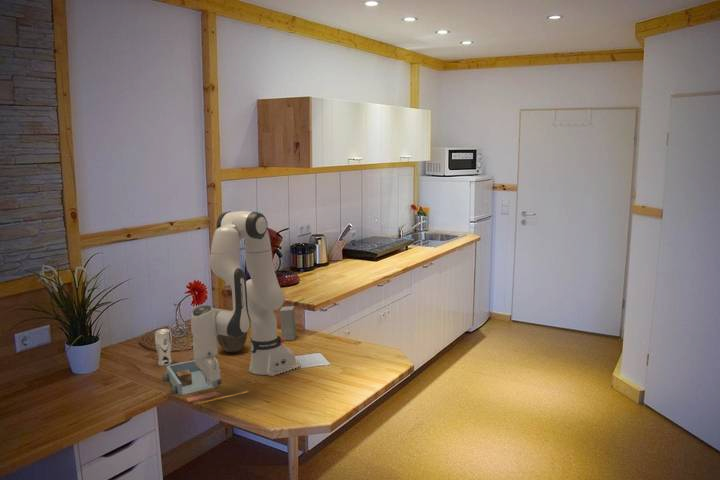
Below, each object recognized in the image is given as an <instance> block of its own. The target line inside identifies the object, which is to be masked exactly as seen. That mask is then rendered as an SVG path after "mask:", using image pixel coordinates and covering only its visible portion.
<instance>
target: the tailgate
mask: <svg viewBox="0 0 720 480" xmlns="http://www.w3.org/2000/svg"><path fill="white" fill-rule="evenodd" d="M217 396H218V397H219V396H221V393H220V392H218V391H212V392H208V393H204V394H199V395H195V396H190V397H186V398H185V399H186V401H187V402H188V403H191V402H195V401H201V400H205V399H208V398H209V399H210V398H213V397H217Z"/></svg>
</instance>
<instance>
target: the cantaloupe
mask: <svg viewBox="0 0 720 480" xmlns="http://www.w3.org/2000/svg"><path fill="white" fill-rule="evenodd" d="M216 338H217V344H218V345H219V347H221V348H222V350H223V351H225V352H228V353H237V352H239V351H240V350H242V349H243V347H244V346H245V343H246V341H247V338H248V332H247V333H246V334H245V335H244V336H243V337H241V338H233V337H230V336H226V335H220V334H218V335H216Z"/></svg>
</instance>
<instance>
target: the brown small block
mask: <svg viewBox="0 0 720 480" xmlns="http://www.w3.org/2000/svg"><path fill="white" fill-rule="evenodd" d="M176 376H177V378H178V379H179V380H180V382H181V383H182V386H185V385H190V384H192V375H191V372H190V371H189V370H183V371H178V372H176Z"/></svg>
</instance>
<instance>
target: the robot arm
mask: <svg viewBox="0 0 720 480" xmlns="http://www.w3.org/2000/svg"><path fill="white" fill-rule="evenodd" d="M268 226H269V225H268V220H267V218H266V216H265V215H264V214H263V213H261V212H258V211H249V210H237V211H230V210H229V211H225V212H222V213H221V214H219V216H218V218H217V221H216V230H215V231H214V233H213V237H212V239H211V240H212V241H211V246H210V255H209V266H210V269H211V271H212V273H214V275H215V276H217V278H220V279H221V280H223V281H224V282H226V284H228V285H229V286H230V289H231V296H232V298H231V299H232V310H228V309H224V308H223V309H222V308H214V307H212V306H211V305H202V306H198V307H196V308H194V309H193V310H192V312H191V315H190V316H191V317H190V327H191V335H192V336H193V340H192V343H191V344H190V348H191V350H192V354H193V358H194V360H195V364H196V365H197V367H198V368H199V369H200V370H201V371H202V372H203V374H204V377H205V382H206V383H207V385H211V384H212V381H216V380H219V379H221V369H220V364H219V360H218V359H217V357H216V355H217V354H218V352H219V348H218V339H217V335H218V334H220V335H226V336H230V337H233V338H241V337H243V336H244V335H245V334H246V333H247V334H248V332H249V330H250V334H251V335H250V342H249V343H250V351H251V354H250V362H249V367H248V371H249V373H251V374H254V375H260V376H261V375H262V376H271V377H273V376H277V374H278V375H281V374H283V372H284V373H287V372H290V371H293V370H296V369H299V368H301V367H302V363H301V361H299V359H298V358H296V356H295V353H294V351H293V350H292V349H291V348H289V347H288V346H286V345H285V344H284V343H286V341H287V340H285V339H284V338H282V336H280V335H278V323H277V322H278V321H277V317H276V314H275V312H274V311H276V310H279V309H281V308H282V307H283V304H284V302H285V293H284V291H283V290H282V288H281V285H280V284H279V281H278V277H277V274H276V271H275V268H274V267H275V266H274V261H273V252H272V245H271V239H270V234H269V231H268ZM242 239H243V240H244V242H243V243H244V244H243V246H244V256H245V265H246V271H247V272H248V273H249V277H250V279H248V280H247V279H246V273H245V271H244V270H243V269H242V267H241V263H240V254H241V253H240V252H241V251H240V250H241V249H240V248H241V247H240V245H241V244H240V242H241V240H242ZM300 366H301V367H300ZM298 367H299V368H298ZM295 368H296V369H295ZM292 369H293V370H292ZM289 370H290V371H289ZM286 371H287V372H286ZM280 373H281V374H280Z"/></svg>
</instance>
